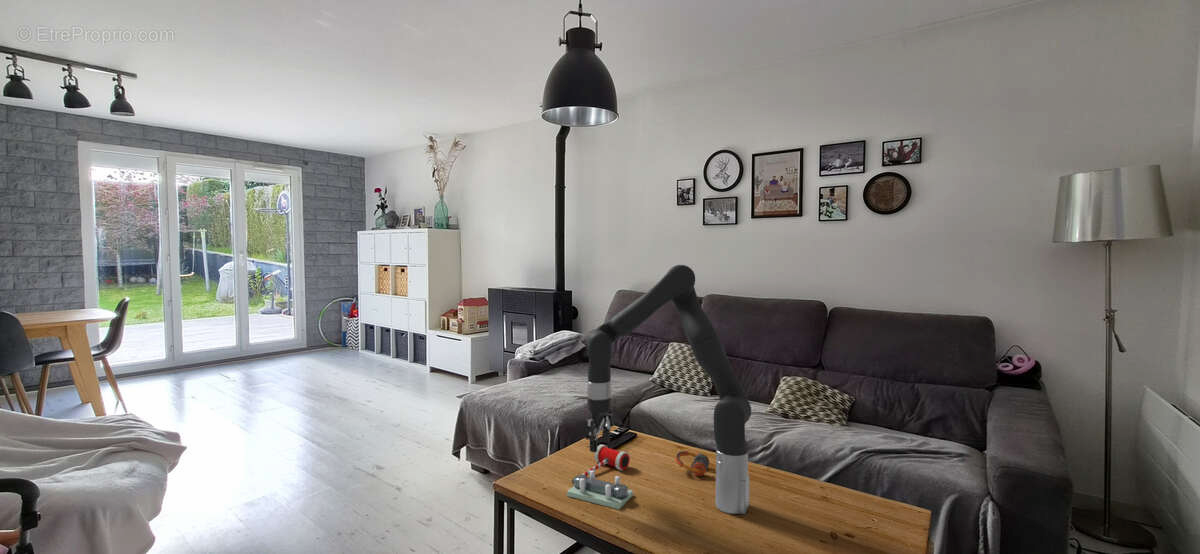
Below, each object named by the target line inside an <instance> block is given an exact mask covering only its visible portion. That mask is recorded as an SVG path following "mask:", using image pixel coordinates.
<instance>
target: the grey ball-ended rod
mask: <svg viewBox="0 0 1200 554" xmlns="http://www.w3.org/2000/svg"><path fill="white" fill-rule="evenodd" d="M581 478H583V479H585V490H588V491H592V492H596V493H601V494H605V495H606V485H611V496H613V497H614V498H616V499H625V498H627V497H628V489H629V488H628V486H627V485H626V484H622V483H620V484H615V482H614V483H613V482H609V481H604V480H600V479H597V478H595V479H593V478H590V477H588V476H584V475H582V474H578V475H575V476H574V477H573V479H574V484H573V486H574V488H576V489H580V479H581Z"/></svg>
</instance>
